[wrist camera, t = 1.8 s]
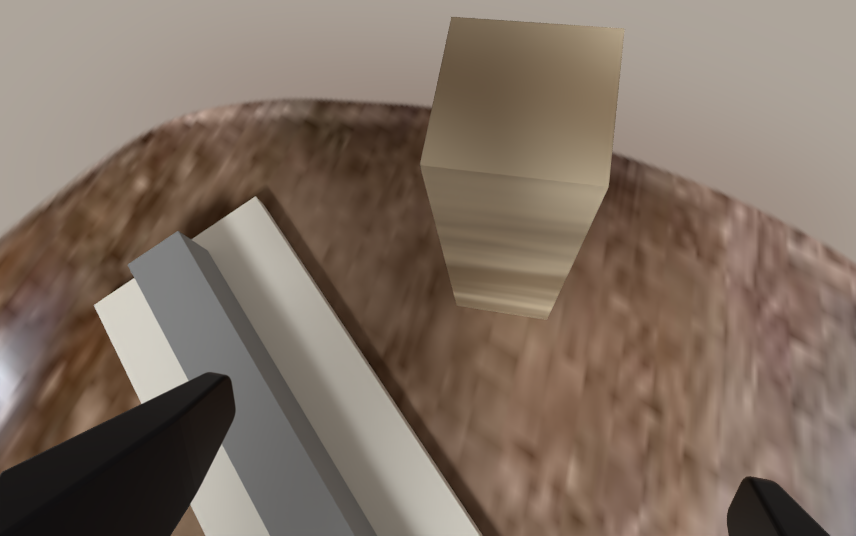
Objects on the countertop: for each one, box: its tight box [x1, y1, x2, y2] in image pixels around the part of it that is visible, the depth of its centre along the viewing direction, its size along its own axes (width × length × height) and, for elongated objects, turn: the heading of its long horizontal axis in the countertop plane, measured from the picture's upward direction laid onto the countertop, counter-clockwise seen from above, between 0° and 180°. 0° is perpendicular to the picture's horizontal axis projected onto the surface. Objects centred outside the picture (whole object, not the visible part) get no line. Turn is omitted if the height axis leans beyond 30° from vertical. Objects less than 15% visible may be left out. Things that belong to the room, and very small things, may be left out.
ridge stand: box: [94, 196, 483, 536], centre depth 21 cm, size 22×9×4 cm, turn 35°
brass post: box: [420, 17, 624, 320], centre depth 18 cm, size 4×4×13 cm
